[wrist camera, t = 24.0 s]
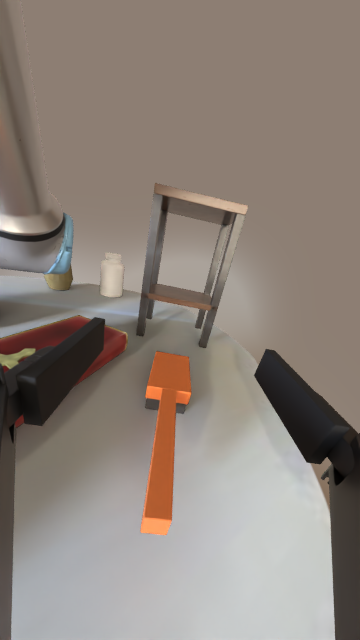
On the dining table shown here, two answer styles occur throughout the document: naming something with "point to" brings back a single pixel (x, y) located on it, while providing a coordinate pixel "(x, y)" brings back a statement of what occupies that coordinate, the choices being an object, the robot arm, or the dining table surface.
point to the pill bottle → (112, 276)
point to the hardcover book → (32, 340)
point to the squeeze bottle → (59, 280)
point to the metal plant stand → (224, 215)
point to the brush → (164, 436)
